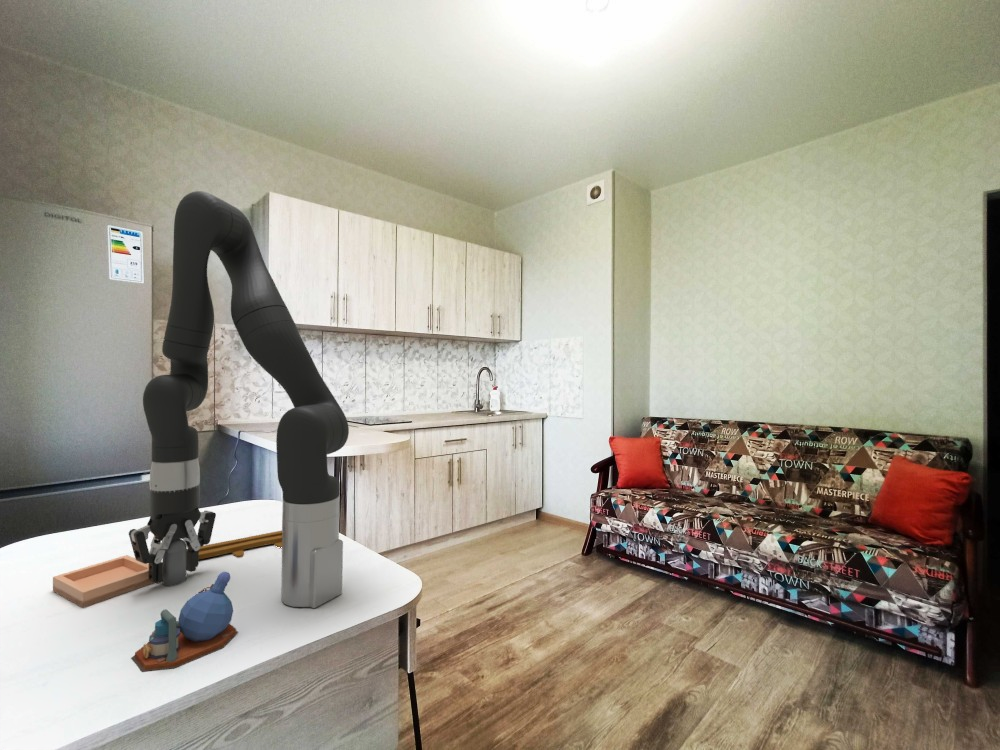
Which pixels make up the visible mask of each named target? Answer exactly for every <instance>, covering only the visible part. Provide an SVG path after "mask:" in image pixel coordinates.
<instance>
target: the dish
mask: <svg viewBox="0 0 1000 750" xmlns="http://www.w3.org/2000/svg"><path fill="white" fill-rule="evenodd" d="M148 572H149V564H148V563H147V564H144V563H142V562H139V561H137V560H136V559H135V557H133V556H130V555H127V554H125V555H123V556H119V557H116V558H111V559H109V560H105V561H102V562H98V563H95V564H91V565H88V566H85V567H82V568H78V569H75V570H72V571H67V572H65V573H62V574H57V575H54V576H52V592H53V591H54V593H55V592H56V593H55V594H57V593H58V594H57V595H59V596H61V597H62V596H63V598H65V599H66V600H68V601H69V602H72V603H74V605H75V604H76V605H77V606H79V607H81V608H86V607H90V606H92V605H95V604H98V603H101V602H103V601H106V600H109V599H112V598H114V597H118V596H120V595H123V594H126V593H129V592H131V591H134V590H137V589H140V588H143V587H146V586H148V585H151V584H154V583H153V582H152V581H151V580H149V578H148V575H149V574H148Z"/></svg>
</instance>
